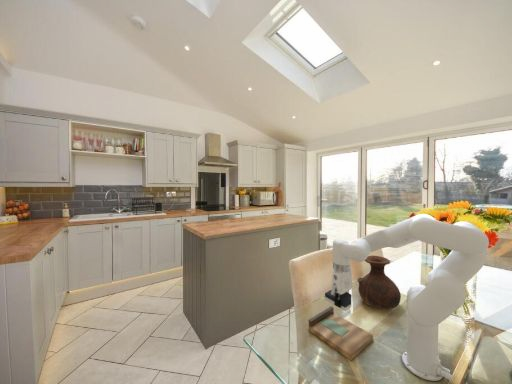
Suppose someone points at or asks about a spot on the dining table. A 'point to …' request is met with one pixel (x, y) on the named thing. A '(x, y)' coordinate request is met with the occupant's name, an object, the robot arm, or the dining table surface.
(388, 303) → the jug
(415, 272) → the dining table surface
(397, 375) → the dining table surface
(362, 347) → the sharpening stone holder
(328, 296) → the black block white base
